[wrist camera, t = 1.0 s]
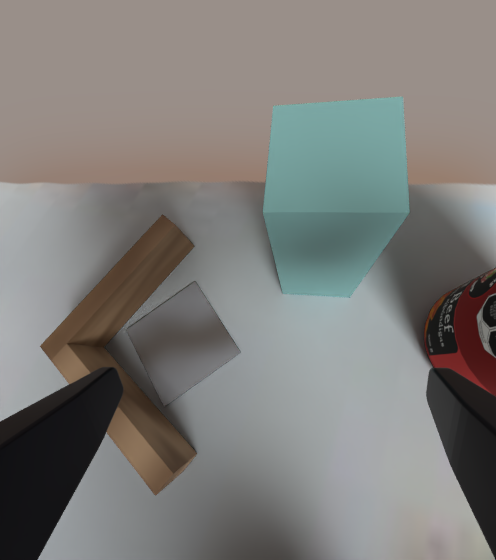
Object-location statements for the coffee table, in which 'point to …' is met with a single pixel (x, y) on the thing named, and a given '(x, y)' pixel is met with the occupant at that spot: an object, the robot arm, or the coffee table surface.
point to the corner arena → (146, 349)
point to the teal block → (334, 191)
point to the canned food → (466, 331)
